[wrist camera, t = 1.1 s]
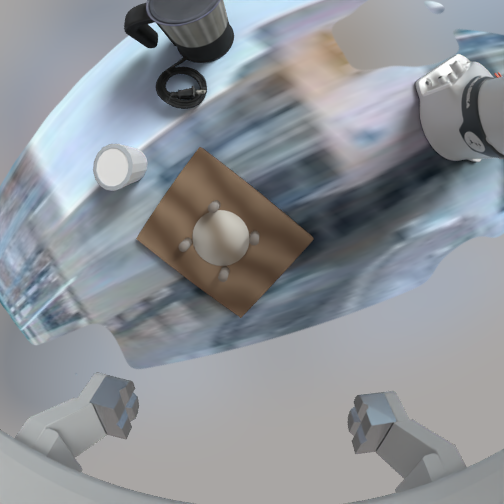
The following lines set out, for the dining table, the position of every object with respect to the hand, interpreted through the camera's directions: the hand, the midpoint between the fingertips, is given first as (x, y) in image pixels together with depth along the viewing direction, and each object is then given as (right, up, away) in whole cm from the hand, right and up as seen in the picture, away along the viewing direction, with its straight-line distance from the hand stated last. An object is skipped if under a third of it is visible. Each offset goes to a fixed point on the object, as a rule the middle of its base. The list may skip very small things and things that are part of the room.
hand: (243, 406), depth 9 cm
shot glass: (-19, +20, +34) cm, 43 cm away
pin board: (-4, +8, +36) cm, 38 cm away
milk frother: (-8, +35, +28) cm, 46 cm away
